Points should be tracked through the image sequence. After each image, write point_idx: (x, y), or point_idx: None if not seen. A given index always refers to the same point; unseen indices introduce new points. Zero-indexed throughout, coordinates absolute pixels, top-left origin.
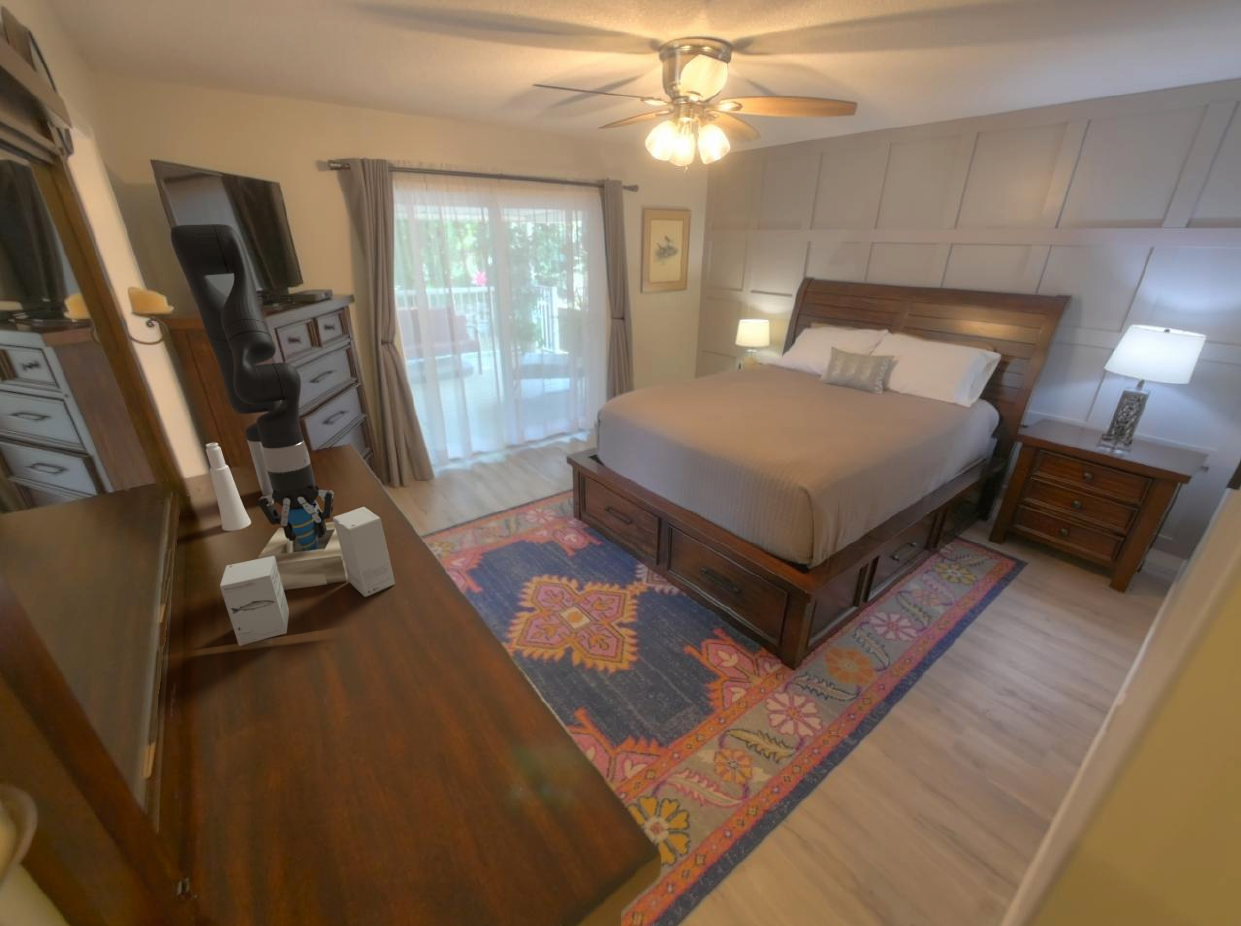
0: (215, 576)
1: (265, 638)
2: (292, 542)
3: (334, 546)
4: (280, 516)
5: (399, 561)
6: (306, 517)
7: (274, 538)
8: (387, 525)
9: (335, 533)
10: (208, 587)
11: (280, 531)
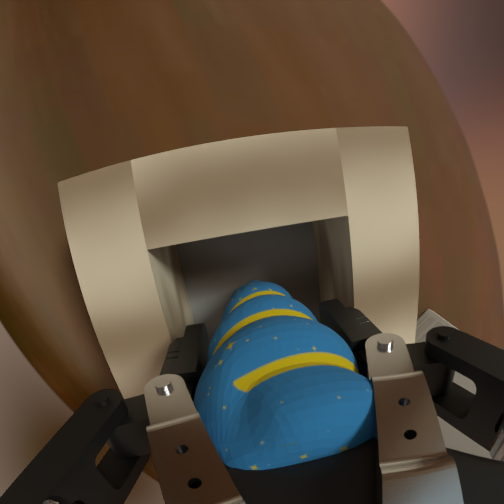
0: (18, 302)
1: None
2: (160, 265)
3: None
4: (136, 428)
5: (461, 268)
6: None
7: (92, 288)
8: (386, 44)
9: (363, 261)
10: (38, 347)
11: (79, 218)
